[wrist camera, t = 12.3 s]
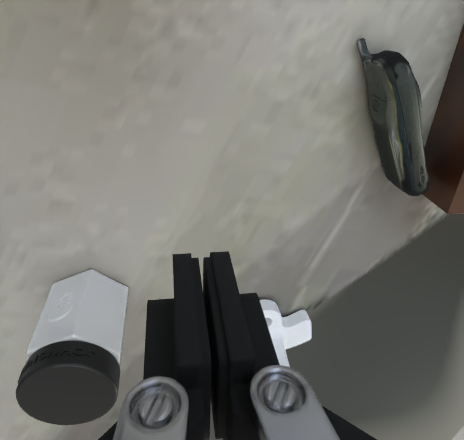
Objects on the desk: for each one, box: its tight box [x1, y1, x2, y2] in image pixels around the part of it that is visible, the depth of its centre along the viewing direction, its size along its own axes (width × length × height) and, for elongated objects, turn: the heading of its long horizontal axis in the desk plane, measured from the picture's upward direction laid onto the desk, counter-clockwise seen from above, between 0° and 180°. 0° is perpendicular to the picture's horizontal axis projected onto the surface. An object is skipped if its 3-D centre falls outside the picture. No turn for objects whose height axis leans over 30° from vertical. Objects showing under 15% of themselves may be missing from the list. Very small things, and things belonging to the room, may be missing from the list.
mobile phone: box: [357, 38, 430, 196], centre depth 35 cm, size 5×3×15 cm
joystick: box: [260, 300, 311, 367], centre depth 40 cm, size 11×8×20 cm
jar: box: [16, 269, 128, 425], centre depth 37 cm, size 9×8×12 cm
